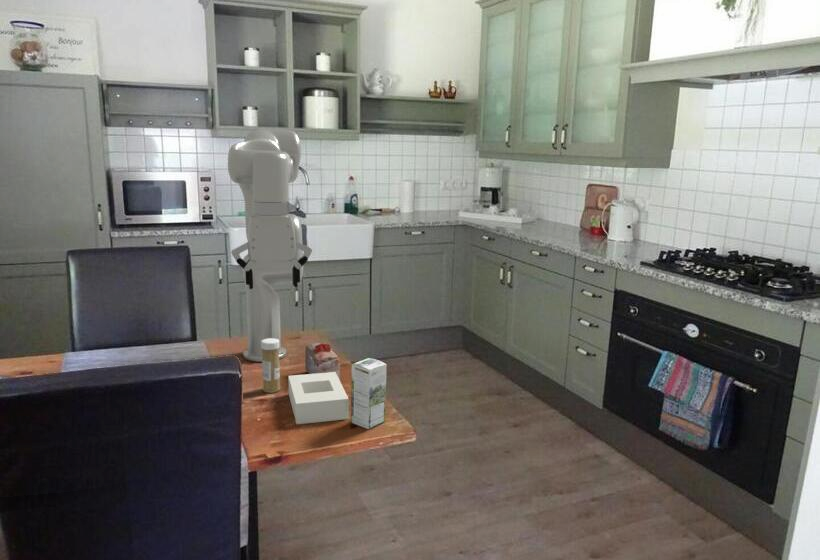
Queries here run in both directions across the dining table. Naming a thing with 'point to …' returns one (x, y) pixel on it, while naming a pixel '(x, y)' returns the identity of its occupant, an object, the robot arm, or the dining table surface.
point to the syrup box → (368, 393)
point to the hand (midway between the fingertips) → (273, 286)
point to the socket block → (318, 398)
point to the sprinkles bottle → (270, 365)
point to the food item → (321, 359)
